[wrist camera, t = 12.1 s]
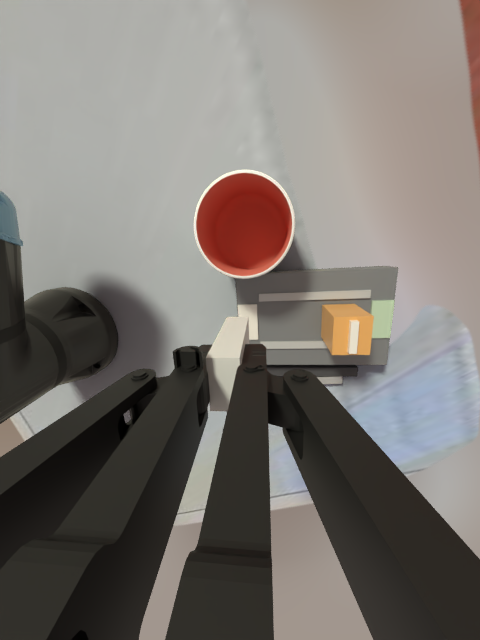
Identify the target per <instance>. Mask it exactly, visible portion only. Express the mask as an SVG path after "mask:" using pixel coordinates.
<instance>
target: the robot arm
mask: <svg viewBox="0 0 480 640" xmlns="http://www.w3.org/2000/svg"><path fill="white" fill-rule="evenodd" d="M20 246H23V242H22V241H21V239H20V236H19V229H18V222H17V214H16V209H15V206H14V204H13V202H12V201H11V200H10V199H9V198H8V196H6V195H5V194H4V193H3V192H1V191H0V424H1V423H2V422H4V421H5V420H7V419H8V418H10V417H11V416H13V415H14V414H16V413H17V412H19V411H20V410H22V409H23V408H25V407H26V406H28V405H29V404H31V403H32V402H34V401H35V400H37V399H38V398H39V397H41V396H42V395H44V394H45V393H47V392H48V391H50V390H51V389H53V388H55V387H56V386H58V385H61V384H65V383H69V382H73V381H76V380H80V379H84V378H87V377H90V376H92V375H94V374H96V373H98V372H99V371H100V370H102V369H103V368H105V367H106V366H107V365H108V364H109V363H110V362H111V361H112V359H113V358H114V356H115V354H116V351H117V346H118V335H117V330H116V327H115V324H114V321H113V319H112V317H111V315H110V314H109V312H108V311H107V310H106V308H105V307H104V306H103V305H102V304H101V303H100V302H99V301H98V300H97V299H95V298H94V297H93V296H91V295H90V294H88V293H86V292H84V291H81V290H78V289H75V288H68V287H62V288H56V289H50V290H46V291H43V292H40V293H38V294H36V295H34V296H33V297H31V298H29V299H28V300H26V301H25V302H24V292H23V277H22V262H21V247H20ZM173 358H174V365H175V369H174V370H173V372H172V373H171V374H170V376H166V377H160V378H157V377H156V372H155V371H154V370H151V369H142V370H141V369H139V370H137V371H134V372H131V373H130V374H128V375H126V376H125V377H123V378H121V379H120V380H118V381H117V382H115V383H114V384H112V385H111V386H109V387H108V388H106V389H105V390H103V391H101V392H100V393H98V394H97V395H95V396H94V397H92V398H91V399H89V400H88V401H86V402H85V403H83V404H82V405H80V406H78V407H77V408H75V409H74V410H72V411H71V412H69V413H68V414H66V415H65V416H63V417H62V418H60V419H58V420H57V421H55V422H54V423H52V424H51V425H49V426H48V427H46V428H45V429H43V430H42V431H40V432H38V433H37V434H35V435H34V436H32V437H31V438H29V439H28V440H26V441H25V442H23V443H22V444H20V445H18V446H17V447H15V448H14V449H12V450H11V451H9V452H8V453H6V454H5V455H3V456H2V457H0V640H139V634H140V628H141V625H142V621H143V617H144V614H145V611H146V608H147V605H148V602H149V599H150V596H151V592H152V589H153V586H154V583H155V580H156V577H157V574H158V571H159V568H160V564H161V561H162V558H163V555H164V552H165V549H166V546H167V543H168V539H169V537H170V534H171V530H172V527H173V524H174V521H175V518H176V515H177V512H178V509H179V506H180V503H181V499H182V496H183V493H184V490H185V487H186V484H187V481H188V478H189V475H190V472H191V468H192V465H193V462H194V459H195V456H196V453H197V450H198V447H199V444H200V441H201V437H202V434H203V431H204V428H205V425H206V422H207V419H208V410H207V407H208V404H209V402H210V411H227V416H226V420H225V425H224V429H223V433H222V438H221V442H220V447H219V451H218V456H217V460H216V465H215V469H214V474H213V478H212V483H211V487H210V491H209V496H208V500H207V505H206V509H205V514H204V518H203V523H202V527H201V532H200V536H199V540H198V544H197V547H196V549H195V550H194V551H192V552H190V553H189V555H188V557H187V559H186V562H185V565H184V569H183V572H182V576H181V580H180V583H179V588H178V591H177V595H176V599H175V603H174V607H173V611H172V615H171V619H170V623H169V627H168V631H167V635H166V639H165V640H274V631H273V594H272V593H273V591H272V559H271V524H270V480H269V437H268V423H269V424H272V425H276V426H279V427H283V434H284V436H285V438H286V441H287V443H288V445H289V447H290V450H291V452H292V454H293V457H294V459H295V461H296V463H297V466H298V468H299V470H300V473H301V475H302V477H303V479H304V482H305V484H306V486H307V489H308V491H309V493H310V495H311V498H312V500H313V502H314V505H315V507H316V509H317V511H318V514H319V516H320V518H321V521H322V523H323V525H324V527H325V529H326V532H327V534H328V537H329V539H330V541H331V544H332V546H333V548H334V550H335V553H336V555H337V557H338V559H339V561H340V564H341V566H342V569H343V571H344V573H345V575H346V578H347V580H348V582H349V585H350V587H351V589H352V592H353V594H354V596H355V598H356V601H357V603H358V605H359V607H360V610H361V612H362V615H363V617H364V619H365V621H366V624H367V626H368V628H369V631H370V633H371V635H372V637H373V640H480V559H479V558H478V557H477V556H476V555H475V554H474V553H473V552H472V550H471V549H470V548H469V547H468V546H467V545H466V544H465V543H464V541H463V540H462V539H461V538H460V537H459V536H458V535H457V534H456V532H455V531H454V530H453V529H452V528H451V527H450V526H449V525H448V523H447V522H446V521H445V520H444V519H443V518H442V517H441V516H440V514H439V513H438V512H437V511H436V510H435V509H434V508H433V507H432V506H431V504H430V503H429V502H428V501H427V500H426V499H425V498H424V497H423V495H422V494H421V493H420V492H419V491H418V490H417V489H416V488H415V487H414V485H413V484H412V483H411V482H410V481H409V480H408V479H407V478H406V476H405V475H404V474H403V473H402V472H401V471H400V470H399V469H398V467H397V466H396V465H395V464H394V463H393V462H392V461H391V460H390V459H389V457H388V456H387V455H386V454H385V453H384V452H383V451H382V450H381V448H380V447H379V446H378V445H377V444H376V443H375V442H374V441H373V440H372V438H371V437H370V436H369V435H368V434H367V433H366V432H365V431H364V429H363V428H362V427H361V426H360V425H359V424H358V423H357V422H356V420H355V419H354V418H353V417H352V416H351V415H350V414H349V413H348V412H347V410H346V409H345V408H344V407H343V406H342V405H341V404H340V403H339V401H338V400H337V399H336V398H335V397H334V396H333V395H332V394H331V393H330V391H329V390H328V389H327V388H326V387H325V386H324V385H323V384H322V382H321V381H320V380H319V379H318V378H317V377H316V376H315V375H314V374H313V373H311V372H309V371H306V370H303V369H294V370H289V371H287V372H285V373H284V375H283V377H278V376H275V375H273V374H271V373H269V372H268V370H267V360H266V347H265V346H264V345H263V344H249V318H248V317H227V318H226V320H225V322H224V324H223V326H222V328H221V330H220V331H219V333H218V335H217V337H216V339H215V341H214V343H213V345H201V346H200V347H197V346H185V347H181V348H178V349H176V350H174V351H173ZM128 410H129V411H130V416H131V420H130V421H129V422H128V423H125V420H124V415H123V414H124V413H125V412H127V411H128Z"/></svg>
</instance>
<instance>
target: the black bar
mask: <svg viewBox="0 0 480 640" xmlns="http://www.w3.org/2000/svg"><path fill="white" fill-rule="evenodd" d="M294 369H303V370H306V371H309V372H311V373H313V374H314V375H315V376H357V372H358V367H357V366H356V365H267V370H268V372H269V373H271V374H273V375H275V376H283V375H284V373H285V372H287V371H289V370H294Z"/></svg>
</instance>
